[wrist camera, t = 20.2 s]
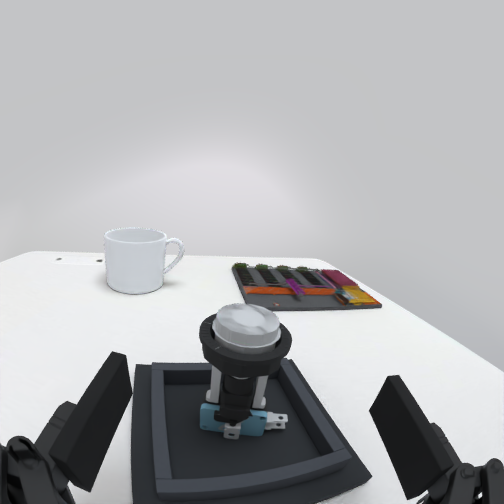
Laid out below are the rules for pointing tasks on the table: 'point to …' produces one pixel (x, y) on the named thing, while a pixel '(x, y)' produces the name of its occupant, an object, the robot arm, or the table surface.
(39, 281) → the table surface
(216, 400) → the push button
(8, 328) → the table surface
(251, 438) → the docking pad
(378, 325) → the table surface
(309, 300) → the circuit board
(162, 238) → the mug
